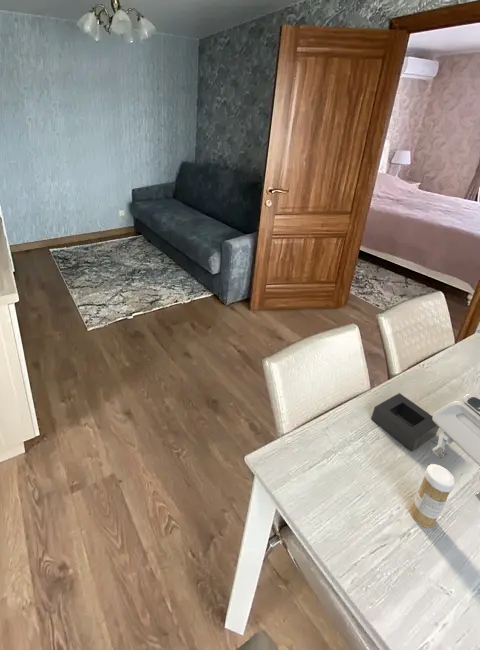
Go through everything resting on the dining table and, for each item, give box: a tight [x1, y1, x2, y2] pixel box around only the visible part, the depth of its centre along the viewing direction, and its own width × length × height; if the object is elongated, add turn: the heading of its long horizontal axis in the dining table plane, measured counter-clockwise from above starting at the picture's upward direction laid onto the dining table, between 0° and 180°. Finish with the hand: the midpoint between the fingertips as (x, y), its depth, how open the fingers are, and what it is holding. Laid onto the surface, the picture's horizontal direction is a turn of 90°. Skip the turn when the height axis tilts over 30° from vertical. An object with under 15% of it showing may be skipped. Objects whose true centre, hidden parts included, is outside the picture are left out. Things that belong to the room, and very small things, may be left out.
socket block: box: [370, 392, 440, 453], centre depth 92 cm, size 11×11×4 cm
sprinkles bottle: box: [409, 463, 456, 529], centre depth 70 cm, size 5×5×13 cm
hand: (456, 476), depth 69 cm, fingers open, 8 cm apart
